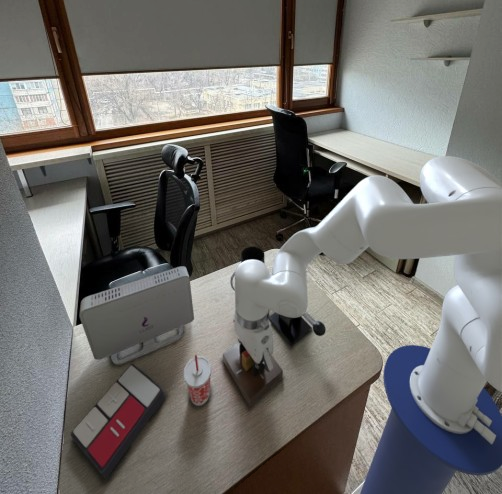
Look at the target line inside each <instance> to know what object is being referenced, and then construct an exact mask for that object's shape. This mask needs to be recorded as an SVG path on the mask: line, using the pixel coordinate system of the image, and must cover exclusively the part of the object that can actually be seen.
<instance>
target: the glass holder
mask: <svg viewBox="0 0 502 494" xmlns="http://www.w3.org/2000/svg"><path fill="white" fill-rule="evenodd" d="M265 255H266V254H265V252H264V250H263V249H262V248H261V247H257V246H248V247H245V248H243V250H242V251H241V253H240V264H241V263H242V262H244V261H246V260H251V259H254V260H259V261H261V262H263V263H264V264H265V265H266V263H265V262H266V261H265ZM234 278H235V271H234V272H232V275H231V276H230V286H231V289H232V290H233V291H234V292H235V286H234V283H233V282H234Z"/></svg>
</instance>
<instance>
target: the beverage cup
mask: <svg viewBox="0 0 502 494" xmlns="http://www.w3.org/2000/svg"><path fill="white" fill-rule="evenodd" d="M211 364H212V363H211V361H210V360H209V359H208V358H207V357H205V356H203V355H197V354H195V355H194V357H192V358H191V359H189V361H187V363H186V365H184V369H183V379H184V382H185V383H186V386H187V390H188V393H189V397H190V401H191V403H192V404H193V405H195V406H202V405H204V404H206V403H207V402H208V400H209V398H210V396H211V395H210V394H211V377H212V376H211V375H212V365H211Z"/></svg>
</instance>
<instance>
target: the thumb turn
mask: <svg viewBox="0 0 502 494" xmlns="http://www.w3.org/2000/svg"><path fill="white" fill-rule="evenodd" d="M253 364H254V360H253V359H252V357H251V356H250V354H249V353H248V351H247V350H245V351H244V352H243V353H242V366H243V368H244V369H245V371H247V370H248V369H250V368H251V367H252V366H253Z"/></svg>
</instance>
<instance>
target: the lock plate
mask: <svg viewBox="0 0 502 494" xmlns="http://www.w3.org/2000/svg"><path fill="white" fill-rule="evenodd" d="M239 345H240V343H239V342H237V343H236V344H234V345H232V347H230V348H229V349H227V350H226V351H224V352H223V353H222V362H223V364H224V365H225V367H226V369H227V370H228V372H229V374H230V375H231V377H232V379H233V381H234V382H235V384H236V386H237V387H238V389H239V391H240V393H241V395H242V396H243V398H244V400H245V401H246V404H247V405H248V407H252V406H253V405H254V404H255V403H256V402H257V401H258V400H259V399H261V398H262V397H263V396H264V395H265V394H267V392H269V390H270V389H272V388H273V387H274V386H275V385H276V384H277V383H278V382H279V381H280V380H282V379H283V375H284V373H283V372H284V370H283V369H282V367H281V366H280V364H278V362H277V361H276V359H275V358H274V357H273V354H271V355H270V354H269V356H270V359H271V362H272V364H273V367H274V369H273V370H271V371H270V372H268V371H266V370H265V369H264V371H263V373H262V374H260V375H257V376H255V377H254V376H253V366H252V367H251V368H250V369H248V370H247V371H245V369H244V368H243V366H242V356H240V354H239Z"/></svg>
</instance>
